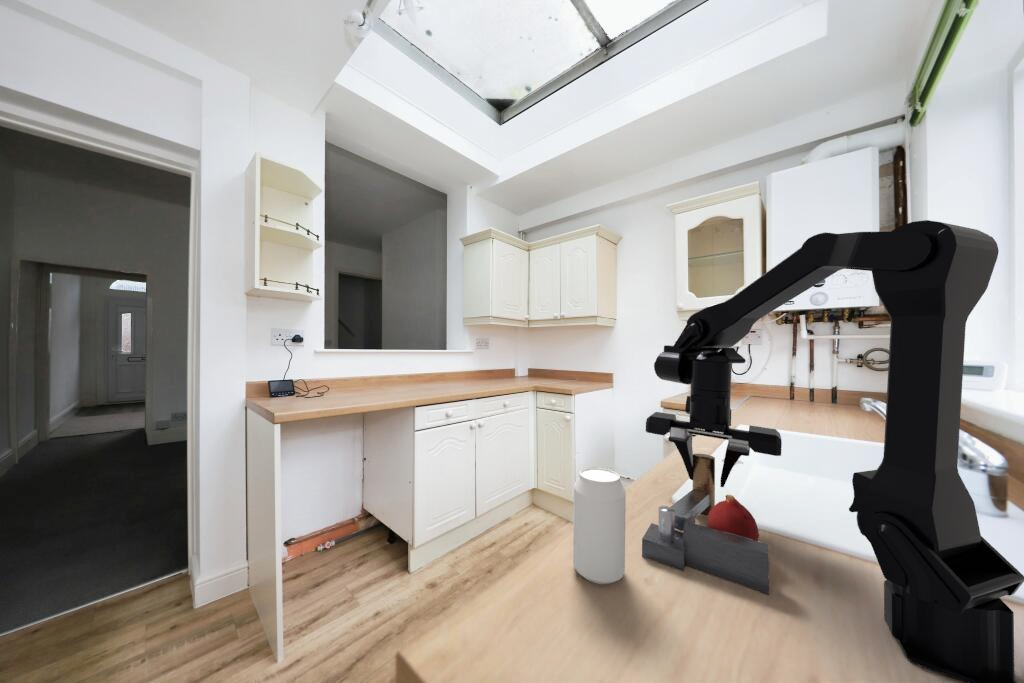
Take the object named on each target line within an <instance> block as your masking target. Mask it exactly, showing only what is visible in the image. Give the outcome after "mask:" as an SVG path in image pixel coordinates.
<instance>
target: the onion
mask: <svg viewBox="0 0 1024 683" xmlns="http://www.w3.org/2000/svg"><path fill="white" fill-rule="evenodd" d="M706 522H707V527H708V528H712V529H715V530H719V531H722V532H728V533H732V534H735V535H739V536H742V537H746V538H750V539H753V540H755V541H758V542H759V538H760V534H759V528H758V525H757V522H756V519H755V517H754V516H753V515H752V513H751V512H750V511H749V509H747V508H746V507H745V506H744V505H743V504H742V503H740V502H739V500H737V499H736V497H735V496H734V495H732V494H726V495H725V499H724V500H722V501H719V502H717V503H715V506H714V507H713V508H712V509H711V510H710V512H709V514H708V516H707V518H706Z"/></svg>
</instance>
